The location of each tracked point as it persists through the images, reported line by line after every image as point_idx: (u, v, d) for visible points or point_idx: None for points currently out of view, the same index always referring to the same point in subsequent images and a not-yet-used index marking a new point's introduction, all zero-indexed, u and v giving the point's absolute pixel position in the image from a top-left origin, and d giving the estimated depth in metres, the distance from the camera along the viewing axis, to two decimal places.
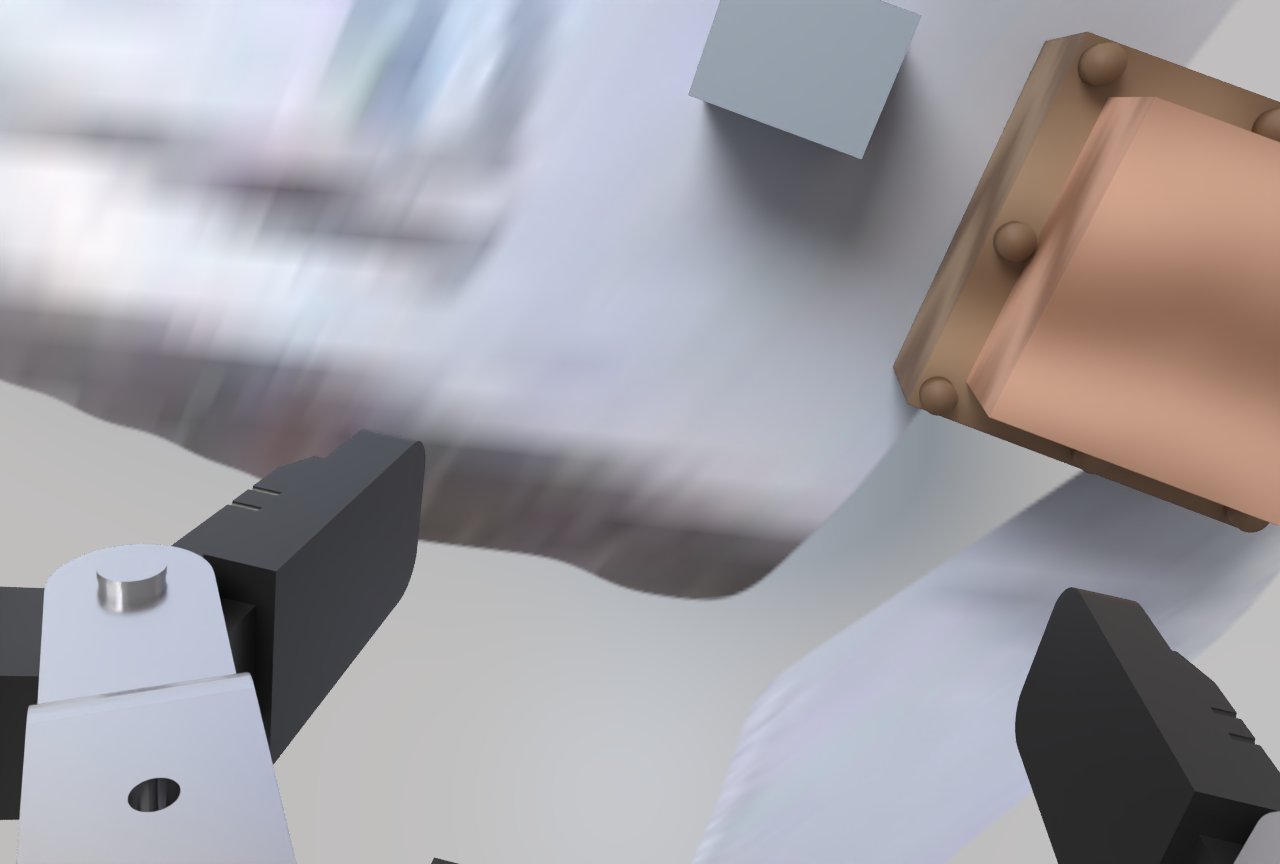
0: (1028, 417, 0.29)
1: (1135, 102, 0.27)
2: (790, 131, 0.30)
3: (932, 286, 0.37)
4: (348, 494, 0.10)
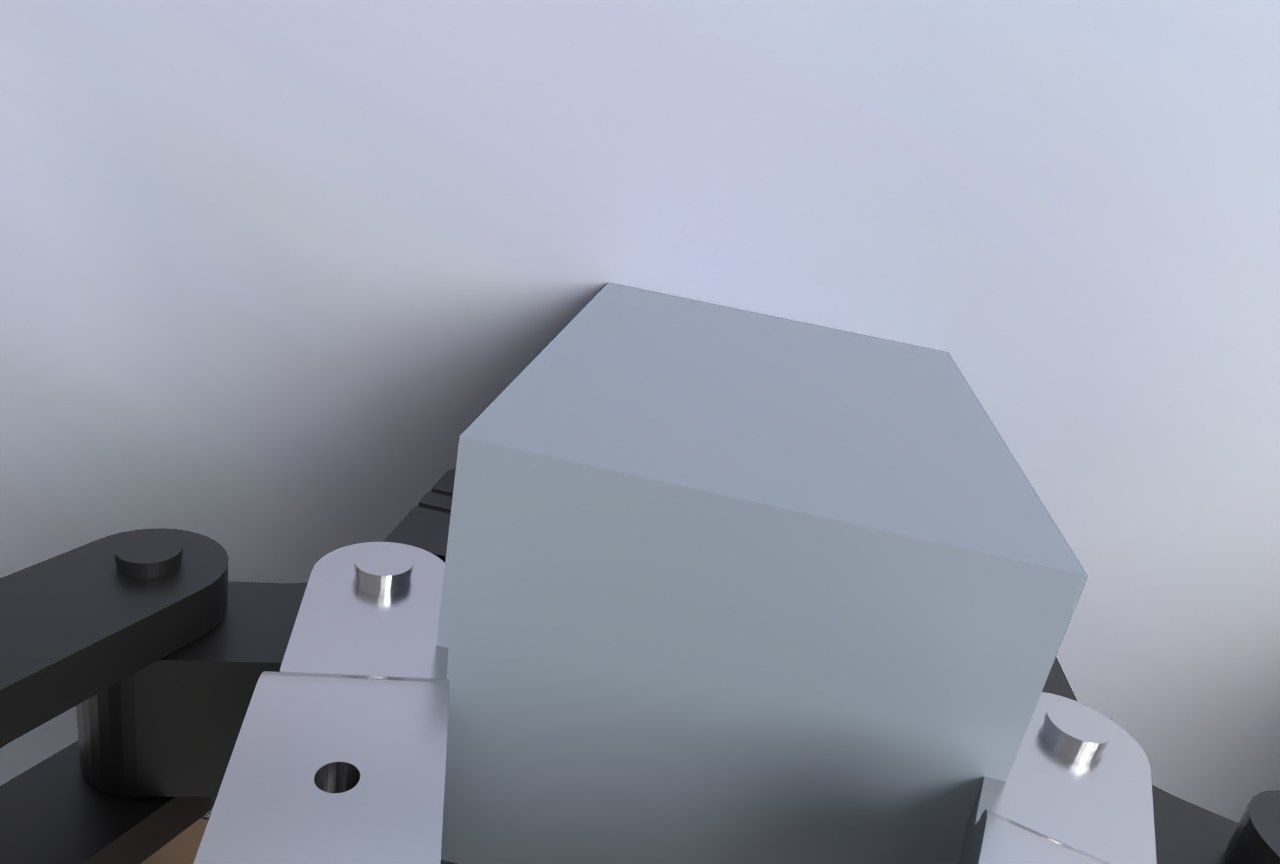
0: None
1: None
2: None
3: None
4: None
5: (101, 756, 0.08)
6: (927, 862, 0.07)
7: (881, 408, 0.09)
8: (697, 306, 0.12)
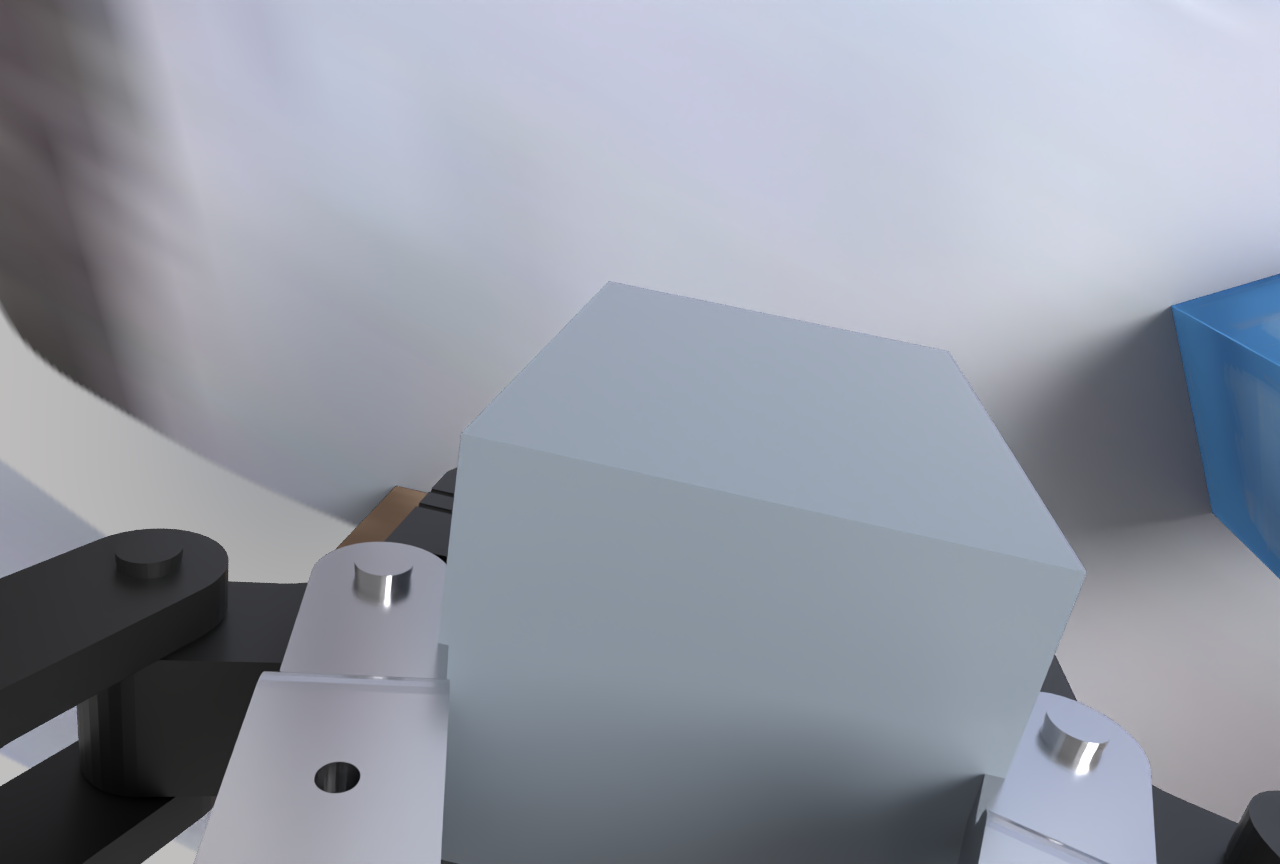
0: None
1: None
2: None
3: None
4: None
5: (102, 756, 0.08)
6: (927, 858, 0.07)
7: (881, 406, 0.09)
8: (697, 304, 0.12)
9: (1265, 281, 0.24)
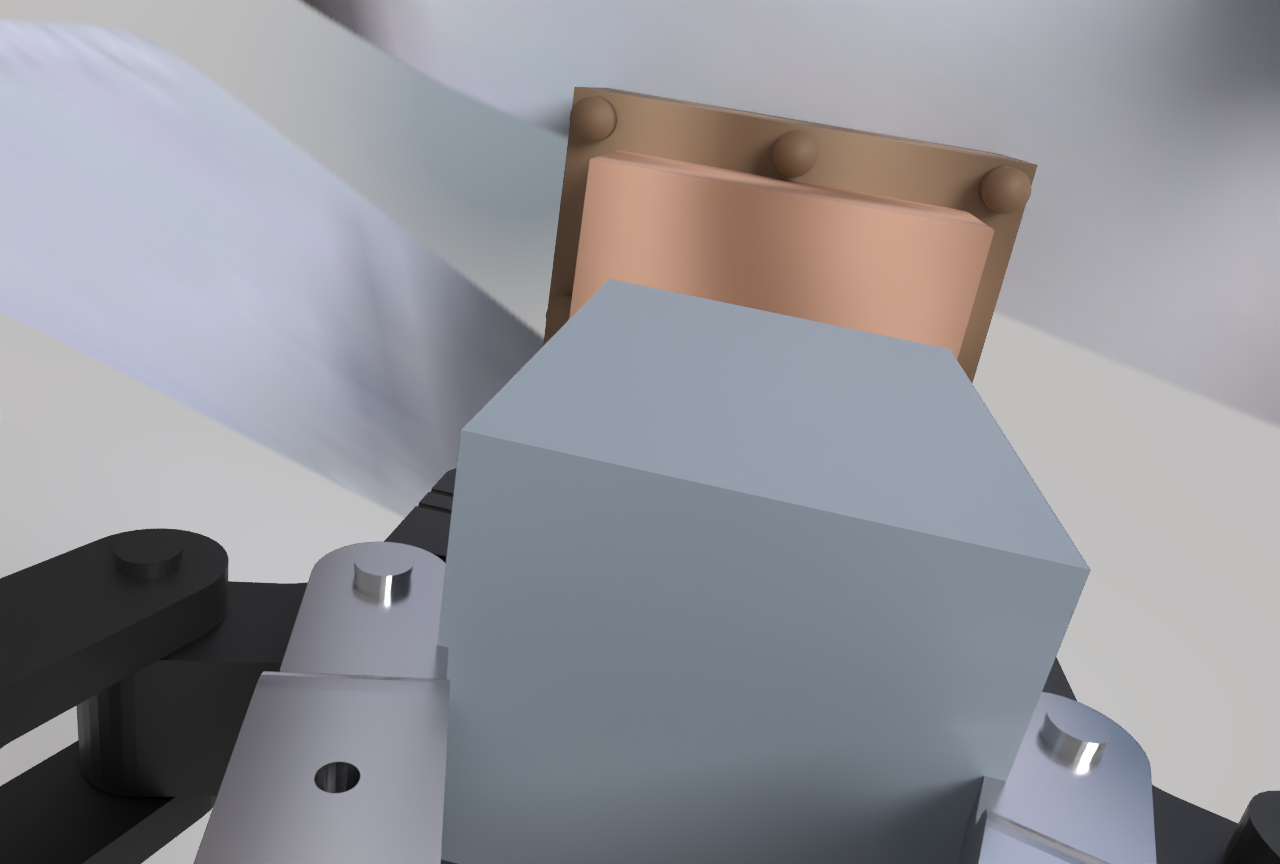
0: (600, 206, 0.24)
1: (977, 222, 0.24)
2: None
3: None
4: None
5: (102, 756, 0.08)
6: (929, 857, 0.07)
7: (882, 403, 0.09)
8: (698, 302, 0.12)
9: None
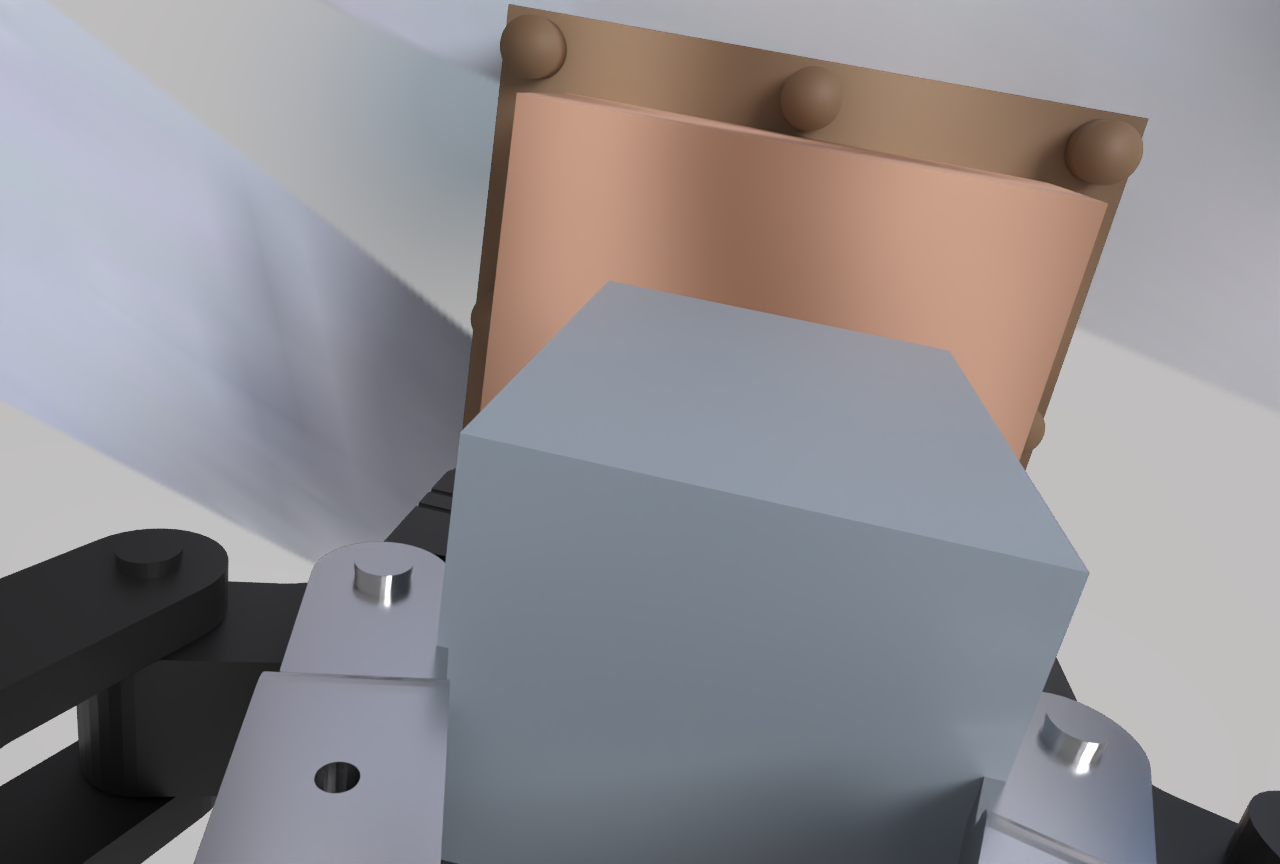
0: (532, 163, 0.16)
1: (1075, 193, 0.16)
2: None
3: None
4: None
5: (101, 757, 0.08)
6: (928, 860, 0.07)
7: (882, 406, 0.09)
8: (698, 304, 0.12)
9: None
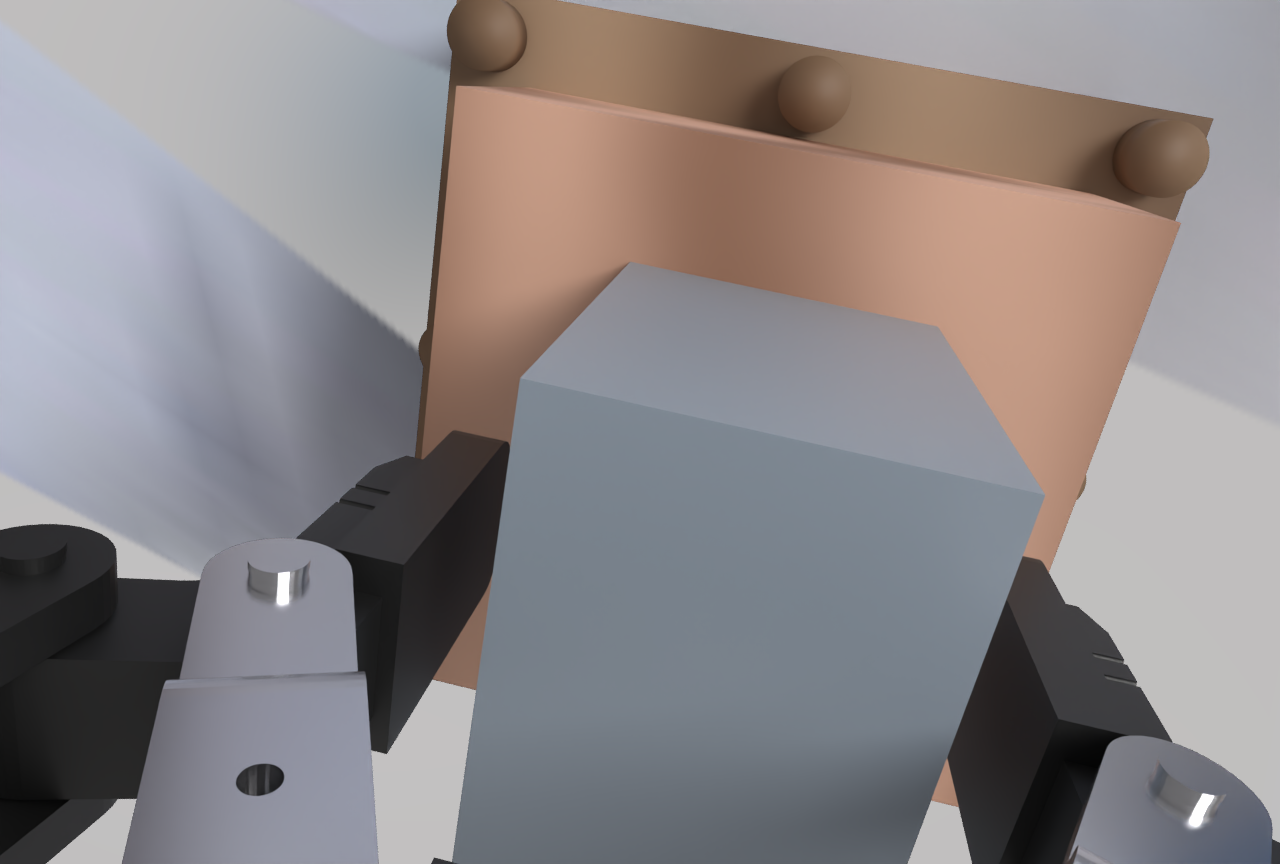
0: (476, 171, 0.14)
1: (1133, 209, 0.14)
2: (478, 709, 0.09)
3: None
4: (453, 492, 0.10)
5: None
6: (911, 747, 0.09)
7: (875, 368, 0.10)
8: (711, 283, 0.13)
9: None
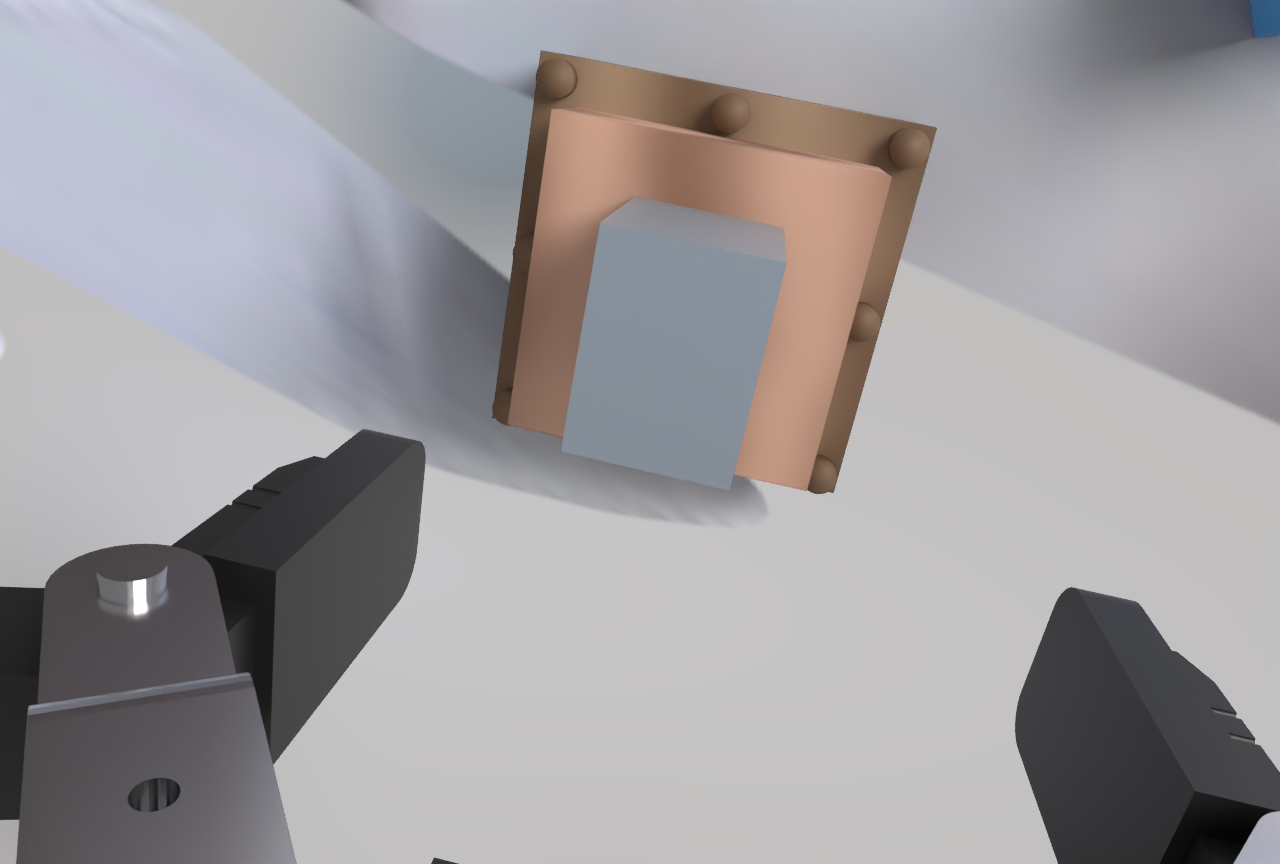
0: (560, 151, 0.28)
1: (881, 172, 0.28)
2: (577, 362, 0.23)
3: None
4: (348, 494, 0.10)
5: None
6: (746, 368, 0.23)
7: (742, 234, 0.25)
8: (674, 206, 0.27)
9: None
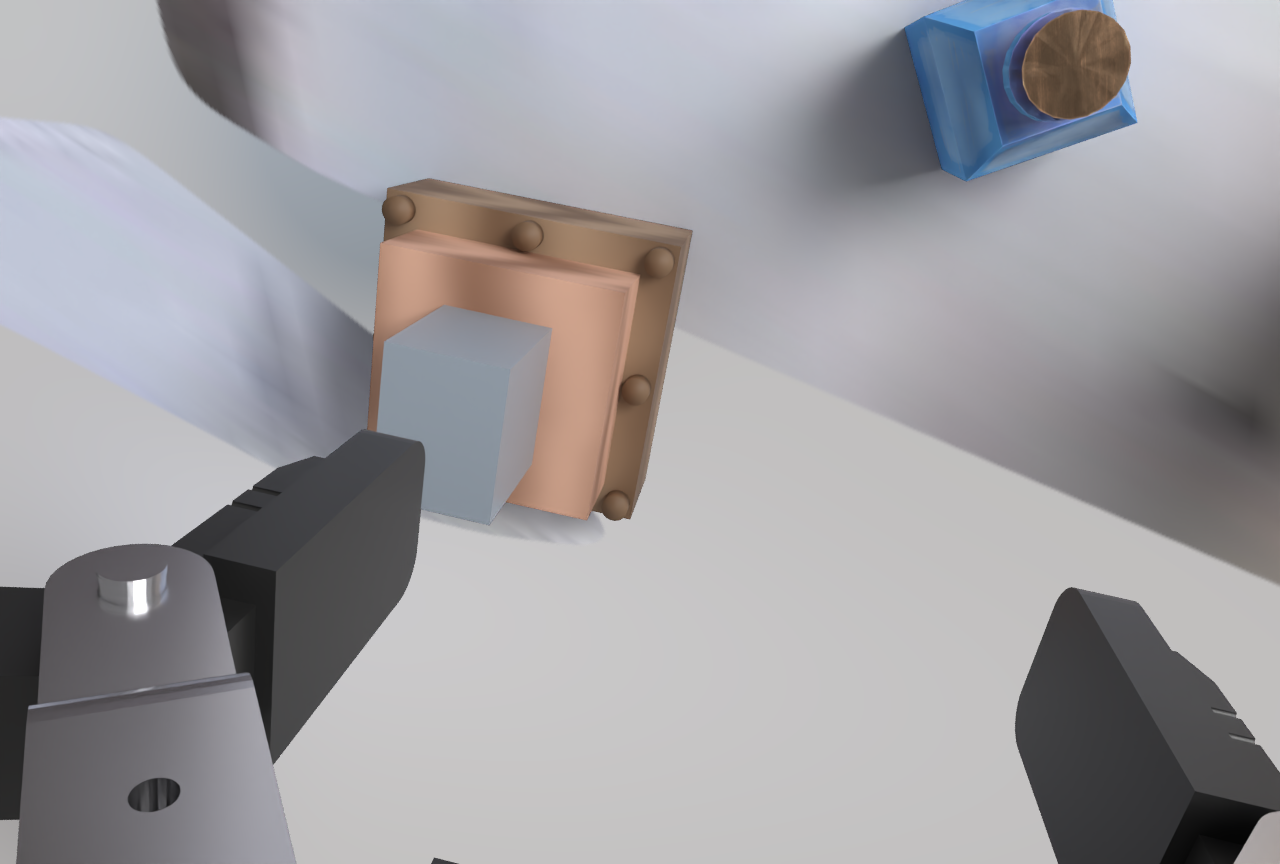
0: (388, 272, 0.37)
1: (626, 285, 0.38)
2: None
3: (498, 193, 0.45)
4: (348, 494, 0.10)
5: None
6: (491, 440, 0.33)
7: (502, 341, 0.34)
8: (471, 312, 0.37)
9: None
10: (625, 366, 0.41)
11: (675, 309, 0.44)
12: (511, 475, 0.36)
